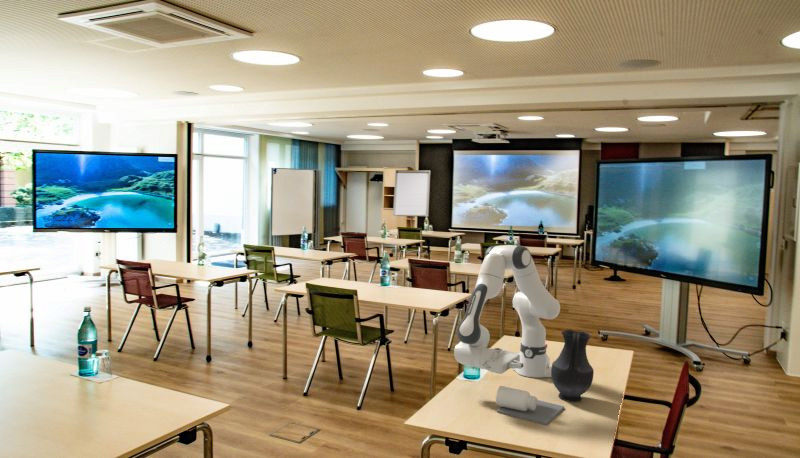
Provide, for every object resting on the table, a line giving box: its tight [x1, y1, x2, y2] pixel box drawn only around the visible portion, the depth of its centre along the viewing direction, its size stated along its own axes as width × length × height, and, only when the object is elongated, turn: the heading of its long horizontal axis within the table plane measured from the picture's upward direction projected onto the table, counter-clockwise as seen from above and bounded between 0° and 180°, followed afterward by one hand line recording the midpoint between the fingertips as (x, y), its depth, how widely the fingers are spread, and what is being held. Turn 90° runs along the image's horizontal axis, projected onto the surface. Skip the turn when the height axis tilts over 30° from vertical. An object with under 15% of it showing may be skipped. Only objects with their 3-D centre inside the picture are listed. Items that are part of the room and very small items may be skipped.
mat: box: [496, 399, 565, 426], centre depth 239 cm, size 22×20×1 cm
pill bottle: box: [495, 385, 538, 411], centre depth 237 cm, size 8×8×15 cm
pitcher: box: [550, 329, 595, 403], centre depth 253 cm, size 17×21×30 cm
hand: (522, 366), depth 241 cm, fingers closed
